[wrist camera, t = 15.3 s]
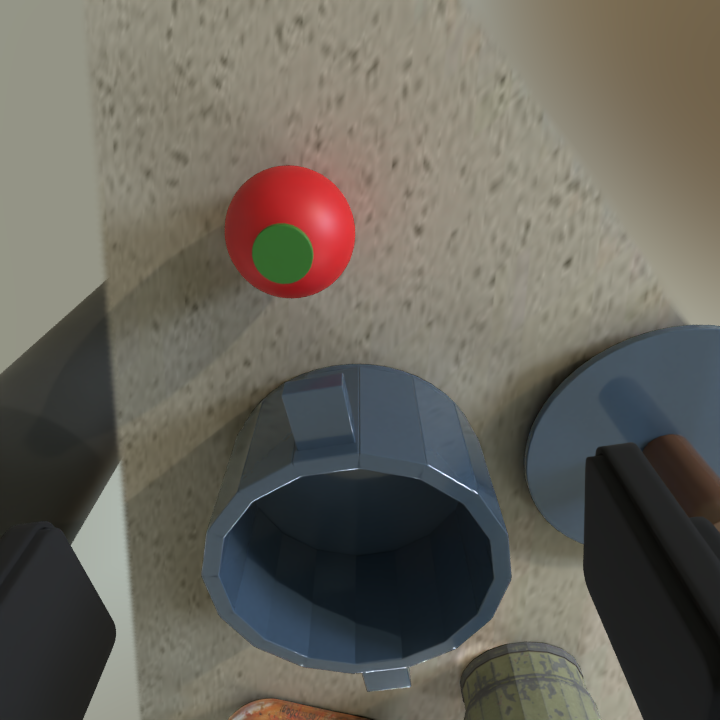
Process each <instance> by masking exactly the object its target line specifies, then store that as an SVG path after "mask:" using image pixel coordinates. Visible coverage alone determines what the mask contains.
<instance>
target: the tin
mask: <svg viewBox="0 0 720 720" xmlns="http://www.w3.org/2000/svg"><path fill="white" fill-rule="evenodd" d="M228 720H371V719H368V718H364V717H359V716H354V715H349V714H344V713H339V712H334V711H329V710H325V709H320V708H315V707H311V706H307V705H302V704H298V703H293V702H289V701H284V700H279V699H260V700H256V701H253V702H250V703H248V704H246V705H244V706H242V707H241V708H239V709H238V710H237V711H236V712H234V713H233V714H232V715H231V716H230V717H229V718H228Z"/></svg>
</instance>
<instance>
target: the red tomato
mask: <svg viewBox="0 0 720 720" xmlns="http://www.w3.org/2000/svg"><path fill="white" fill-rule="evenodd" d="M225 241H226V246H227V249H228V253H229V255H230V257H231V260H232V262H233V264H234V265H235V267H236V269H237V270H238V271H239V273H240V274H241V275H242V276H243V277H244V278H245V279H246V280H247V281H248V282H249V283H250V284H252V285H253V286H254V287H256V288H257V289H259V290H261V291H263V292H265V293H267V294H270V295H273V296H277V297H282V298H301V297H306V296H310V295H313V294H316V293H318V292H320V291H322V290H324V289H325V288H327V287H328V286H330V285H331V284H332V283H333V282H335V280H336V279H337V278H338V277H339V276H340V275H341V274H342V272H343V271H344V270H345V268H346V266H347V264H348V263H349V261H350V258H351V255H352V252H353V248H354V243H355V225H354V220H353V215H352V212H351V209H350V207H349V204H348V202H347V200H346V199H345V197H344V196H343V194H342V193H341V191H340V190H339V189H338V188H337V187H336V186H335V185H334V184H333V183H332V182H331V181H330V180H328V179H327V178H326V177H324V176H323V175H321V174H319V173H317V172H315V171H313V170H310V169H307V168H303V167H299V166H289V165H288V166H277V167H272V168H269V169H266V170H263V171H261V172H260V173H258V174H256V175H254V176H253V177H251V178H250V179H249V180H247V181H246V182H245V183H244V184H243V185H242V186H241V187H240V188H239V190H238V191H237V192H236V194H235V196H234V197H233V199H232V201H231V203H230V205H229V208H228V211H227V215H226V219H225Z"/></svg>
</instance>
